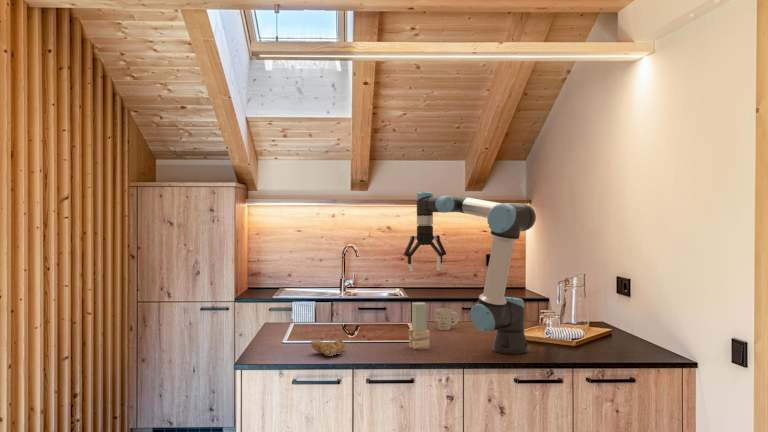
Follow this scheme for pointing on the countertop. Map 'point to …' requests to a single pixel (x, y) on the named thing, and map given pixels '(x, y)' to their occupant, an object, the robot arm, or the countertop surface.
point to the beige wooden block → (419, 344)
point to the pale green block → (419, 316)
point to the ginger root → (329, 347)
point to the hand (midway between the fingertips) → (425, 270)
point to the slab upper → (419, 335)
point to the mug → (445, 318)
